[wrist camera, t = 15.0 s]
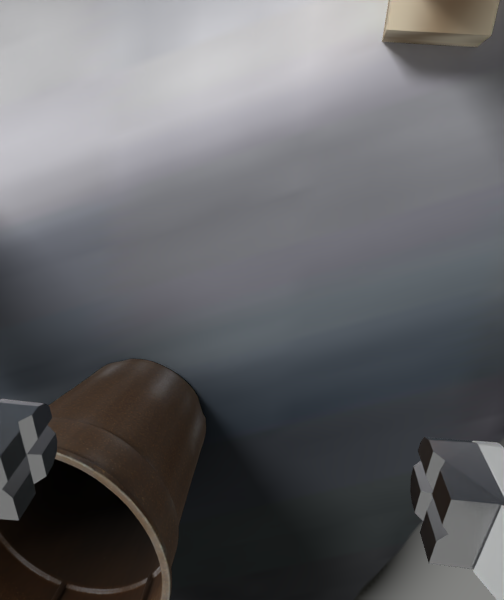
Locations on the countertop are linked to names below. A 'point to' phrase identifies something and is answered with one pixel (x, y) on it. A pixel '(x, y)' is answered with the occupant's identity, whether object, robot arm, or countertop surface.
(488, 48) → the countertop surface
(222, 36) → the countertop surface
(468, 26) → the base
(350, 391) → the countertop surface
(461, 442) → the robot arm
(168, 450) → the plant pot
